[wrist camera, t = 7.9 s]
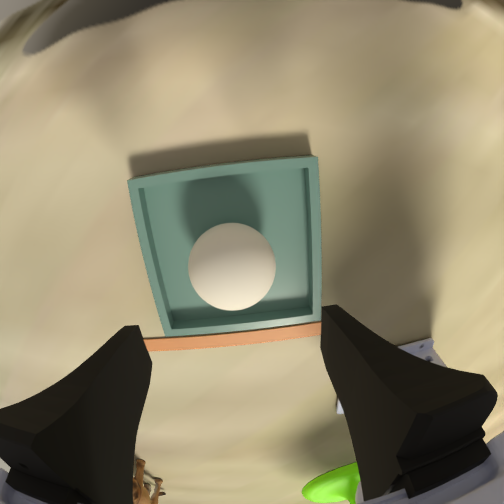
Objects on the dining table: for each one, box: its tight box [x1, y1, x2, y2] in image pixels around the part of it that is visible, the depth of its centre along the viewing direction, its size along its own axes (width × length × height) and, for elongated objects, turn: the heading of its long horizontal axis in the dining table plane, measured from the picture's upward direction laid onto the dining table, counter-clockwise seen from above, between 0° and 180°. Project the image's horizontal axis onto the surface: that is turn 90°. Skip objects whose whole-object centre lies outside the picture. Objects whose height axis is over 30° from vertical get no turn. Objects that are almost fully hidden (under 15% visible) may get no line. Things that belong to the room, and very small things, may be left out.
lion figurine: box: [133, 459, 166, 504], centre depth 28 cm, size 15×5×9 cm, turn 16°
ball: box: [188, 223, 276, 311], centre depth 17 cm, size 5×5×5 cm
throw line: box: [143, 322, 321, 351], centre depth 23 cm, size 18×1×1 cm, turn 96°
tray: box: [127, 155, 322, 337], centre depth 19 cm, size 11×11×1 cm
